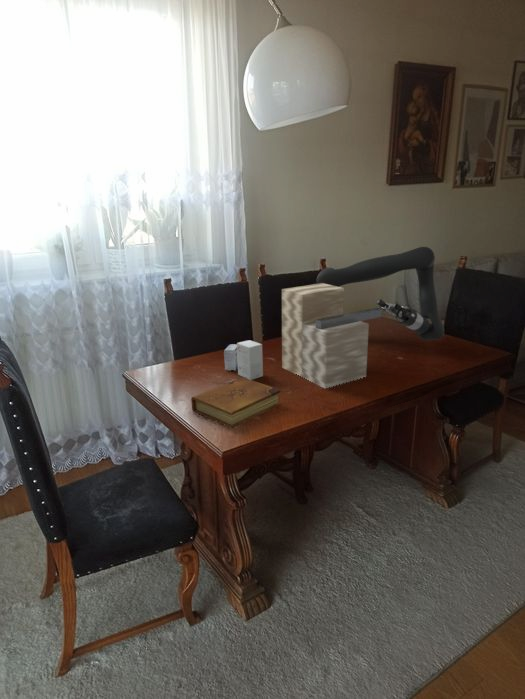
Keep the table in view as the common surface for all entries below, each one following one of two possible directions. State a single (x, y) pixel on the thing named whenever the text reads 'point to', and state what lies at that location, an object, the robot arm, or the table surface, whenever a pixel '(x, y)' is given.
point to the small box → (250, 359)
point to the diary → (236, 401)
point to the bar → (348, 318)
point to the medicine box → (231, 357)
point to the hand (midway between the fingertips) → (386, 303)
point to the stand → (321, 337)
